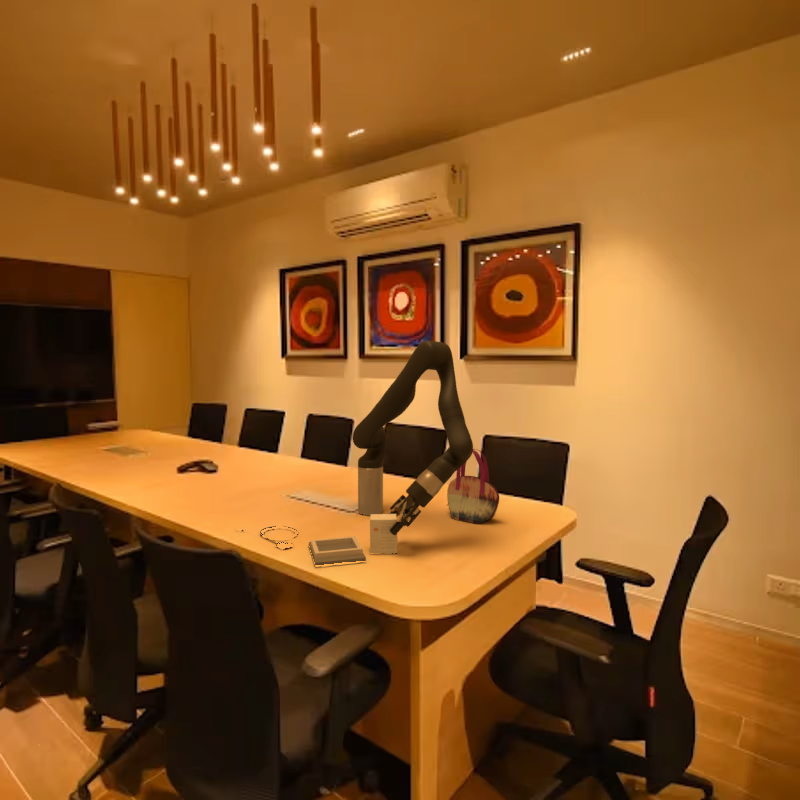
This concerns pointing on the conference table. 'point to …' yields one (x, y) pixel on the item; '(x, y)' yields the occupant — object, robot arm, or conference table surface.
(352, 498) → the conference table surface
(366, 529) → the conference table surface
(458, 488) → the handbag
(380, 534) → the small box
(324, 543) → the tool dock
